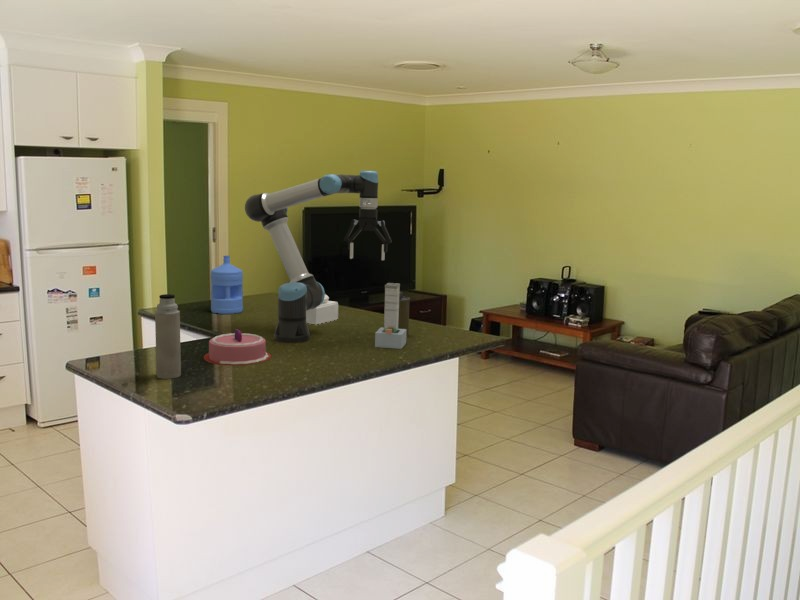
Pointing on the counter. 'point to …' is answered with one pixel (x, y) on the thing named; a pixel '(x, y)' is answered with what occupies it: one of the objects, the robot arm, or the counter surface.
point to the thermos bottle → (167, 338)
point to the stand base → (390, 338)
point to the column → (391, 306)
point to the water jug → (226, 288)
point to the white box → (323, 312)
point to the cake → (237, 349)
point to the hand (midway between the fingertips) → (367, 259)
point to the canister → (403, 312)
